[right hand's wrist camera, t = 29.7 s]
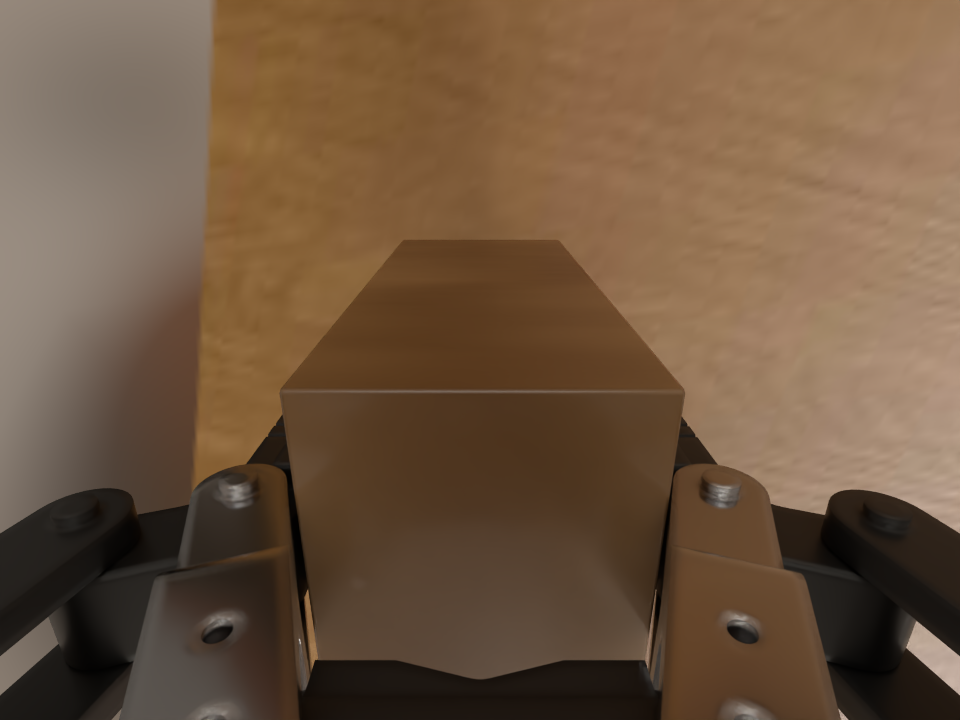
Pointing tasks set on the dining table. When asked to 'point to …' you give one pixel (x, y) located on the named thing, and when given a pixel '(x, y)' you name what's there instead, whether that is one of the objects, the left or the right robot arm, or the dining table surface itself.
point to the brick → (481, 464)
